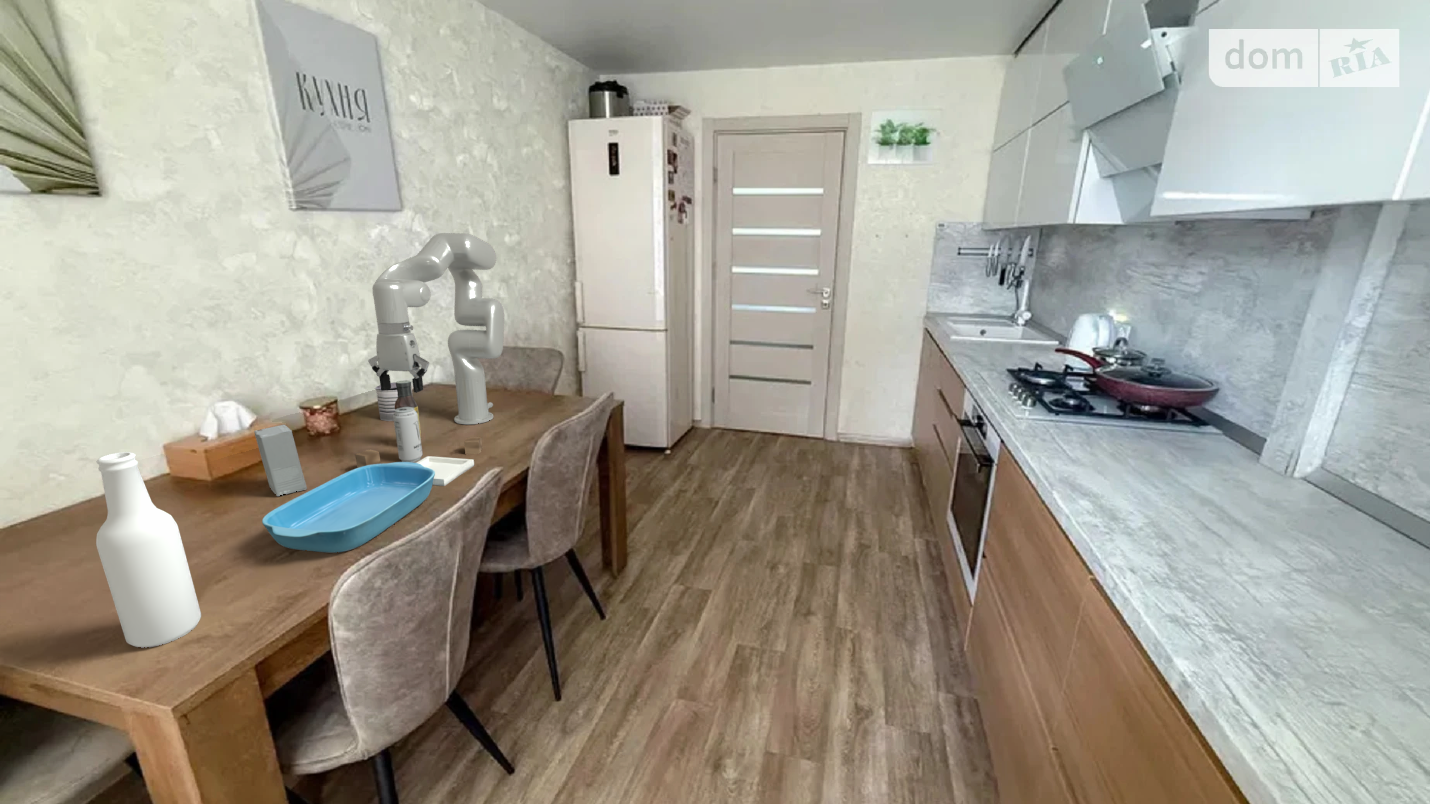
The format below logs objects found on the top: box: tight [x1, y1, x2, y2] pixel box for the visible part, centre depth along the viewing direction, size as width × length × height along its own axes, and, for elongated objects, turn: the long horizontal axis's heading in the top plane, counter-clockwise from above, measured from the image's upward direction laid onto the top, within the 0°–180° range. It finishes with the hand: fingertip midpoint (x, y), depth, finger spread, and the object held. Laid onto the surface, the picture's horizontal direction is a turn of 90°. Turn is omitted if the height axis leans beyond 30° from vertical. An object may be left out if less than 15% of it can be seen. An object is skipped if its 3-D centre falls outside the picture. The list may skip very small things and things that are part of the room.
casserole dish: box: [261, 461, 435, 554], centre depth 126 cm, size 37×22×7 cm, turn 172°
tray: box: [415, 455, 475, 487], centre depth 153 cm, size 14×14×2 cm
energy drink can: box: [393, 407, 423, 463], centre depth 160 cm, size 6×6×15 cm
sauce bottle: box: [395, 379, 422, 439], centre depth 171 cm, size 6×6×20 cm
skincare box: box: [253, 424, 308, 497], centre depth 140 cm, size 8×7×16 cm
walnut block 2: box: [463, 436, 483, 455], centre depth 169 cm, size 4×4×4 cm
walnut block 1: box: [354, 449, 382, 468], centre depth 154 cm, size 4×4×5 cm
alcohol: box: [95, 451, 202, 649], centre depth 87 cm, size 9×9×30 cm
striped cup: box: [374, 381, 413, 422], centre depth 199 cm, size 11×11×12 cm
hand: (402, 390), depth 156 cm, fingers open, 9 cm apart
